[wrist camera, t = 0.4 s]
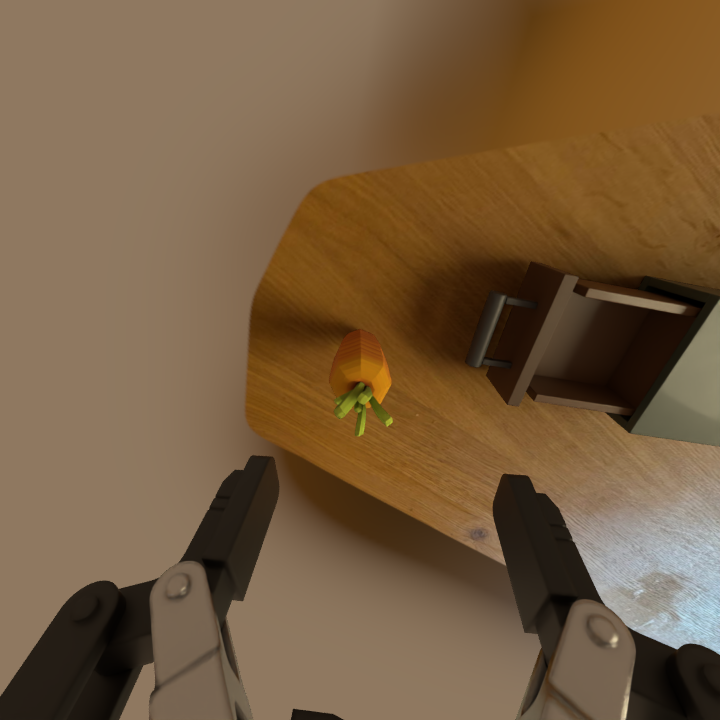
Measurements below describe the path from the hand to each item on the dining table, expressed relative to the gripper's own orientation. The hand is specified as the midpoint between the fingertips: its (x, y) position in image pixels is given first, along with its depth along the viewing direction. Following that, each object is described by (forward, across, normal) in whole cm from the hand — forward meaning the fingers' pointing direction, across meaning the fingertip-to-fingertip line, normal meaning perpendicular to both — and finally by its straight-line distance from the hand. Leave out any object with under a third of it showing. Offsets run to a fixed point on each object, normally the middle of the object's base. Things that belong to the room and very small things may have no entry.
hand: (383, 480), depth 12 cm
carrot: (+24, +3, +6) cm, 25 cm away
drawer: (+24, -16, +5) cm, 30 cm away
